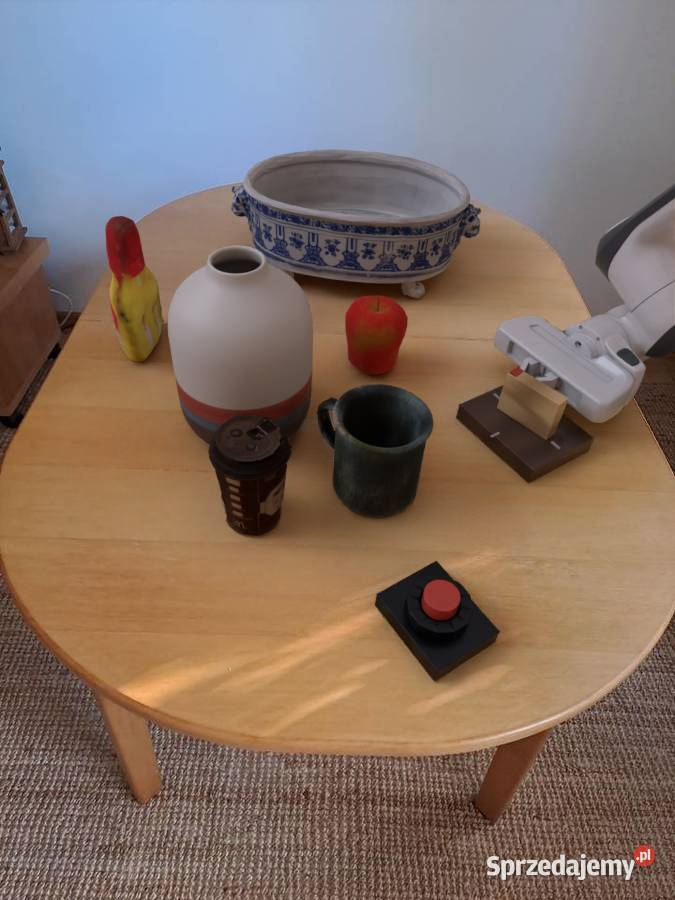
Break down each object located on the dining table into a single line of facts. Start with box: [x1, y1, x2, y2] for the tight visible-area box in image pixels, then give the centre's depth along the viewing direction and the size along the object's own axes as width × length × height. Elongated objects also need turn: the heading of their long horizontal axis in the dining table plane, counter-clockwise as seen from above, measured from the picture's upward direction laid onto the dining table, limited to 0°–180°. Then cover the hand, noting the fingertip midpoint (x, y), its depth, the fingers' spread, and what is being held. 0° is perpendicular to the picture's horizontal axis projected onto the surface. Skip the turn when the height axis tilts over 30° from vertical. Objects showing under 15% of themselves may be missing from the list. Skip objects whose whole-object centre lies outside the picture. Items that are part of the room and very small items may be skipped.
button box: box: [374, 560, 501, 683], centre depth 68 cm, size 10×8×4 cm
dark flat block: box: [455, 384, 595, 484], centre depth 89 cm, size 14×12×3 cm
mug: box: [316, 383, 435, 518], centre depth 78 cm, size 11×15×12 cm
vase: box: [167, 244, 314, 445], centre depth 81 cm, size 17×17×24 cm
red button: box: [421, 580, 460, 621], centre depth 66 cm, size 4×4×2 cm
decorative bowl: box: [230, 149, 482, 299], centre depth 114 cm, size 42×27×15 cm, turn 85°
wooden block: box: [497, 366, 568, 440], centre depth 86 cm, size 8×2×6 cm, turn 42°
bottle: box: [104, 215, 165, 362], centre depth 93 cm, size 12×6×20 cm, turn 179°
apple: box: [344, 294, 409, 376], centre depth 94 cm, size 9×8×12 cm
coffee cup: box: [208, 414, 293, 538], centre depth 73 cm, size 9×8×13 cm
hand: (516, 384), depth 88 cm, fingers closed, pressing on wooden block
